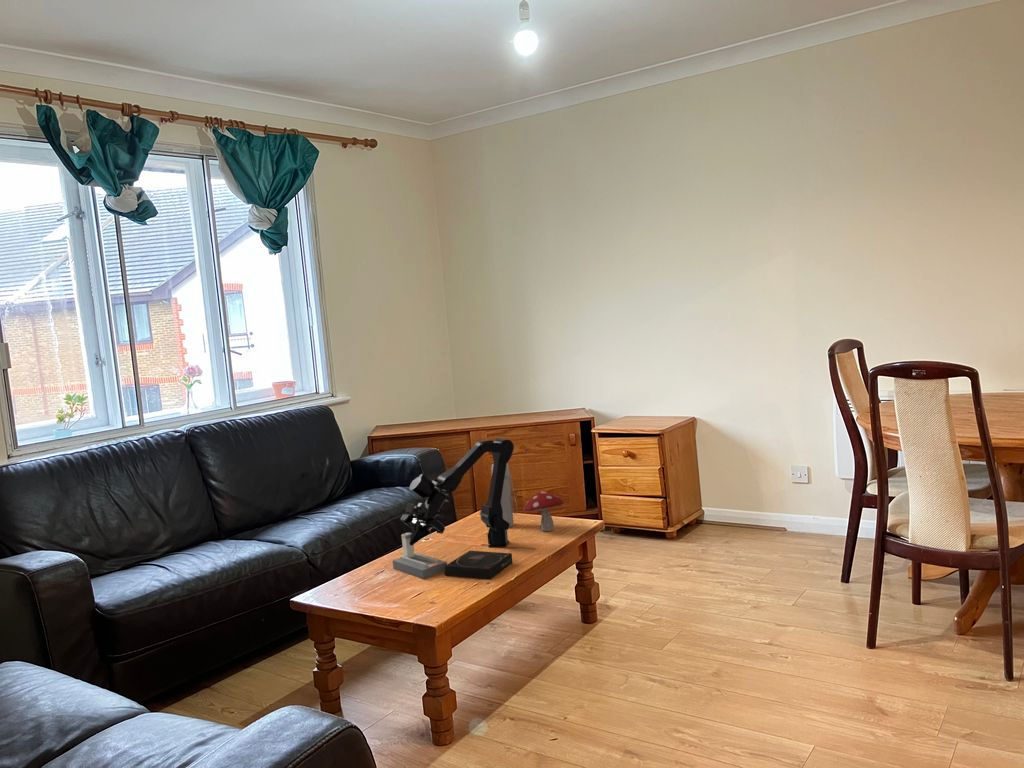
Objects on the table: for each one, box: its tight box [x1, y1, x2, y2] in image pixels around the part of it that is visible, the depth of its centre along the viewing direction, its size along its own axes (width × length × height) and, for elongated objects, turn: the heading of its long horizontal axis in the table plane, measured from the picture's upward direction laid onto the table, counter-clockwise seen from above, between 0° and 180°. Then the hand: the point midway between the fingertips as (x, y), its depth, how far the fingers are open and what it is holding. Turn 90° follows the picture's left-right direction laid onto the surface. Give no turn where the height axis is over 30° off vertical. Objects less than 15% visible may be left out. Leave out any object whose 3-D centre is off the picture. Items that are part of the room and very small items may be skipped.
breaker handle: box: [400, 532, 416, 558], centre depth 277 cm, size 3×3×8 cm
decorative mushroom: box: [522, 491, 565, 532], centre depth 307 cm, size 16×16×15 cm
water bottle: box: [491, 462, 518, 528], centre depth 318 cm, size 9×8×25 cm
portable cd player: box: [443, 550, 514, 581], centre depth 268 cm, size 16×17×4 cm
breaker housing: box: [392, 552, 448, 580], centre depth 273 cm, size 10×18×4 cm, turn 41°
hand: (410, 544), depth 273 cm, fingers closed
